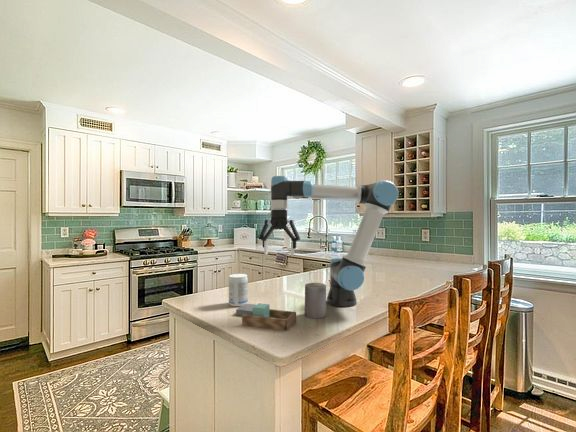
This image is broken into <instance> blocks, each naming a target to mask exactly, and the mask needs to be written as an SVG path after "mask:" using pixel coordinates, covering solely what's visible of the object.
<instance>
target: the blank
mask: <svg viewBox="0 0 576 432" xmlns="http://www.w3.org/2000/svg"><path fill="white" fill-rule="evenodd" d="M269 309H270V304H269V303H257V304H255V306H254V307H253V316H262V317H269Z"/></svg>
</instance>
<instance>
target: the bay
mask: <svg viewBox="0 0 576 432" xmlns="http://www.w3.org/2000/svg"><path fill="white" fill-rule="evenodd" d="M296 322H297V311H293V310H292V311H291V310H281V309H271V308H269V317H262V316H253V315H245V314H243V315H242V316H241V326H247V327H255V328H264V329H271V330H279V331H280V330H281V331H285V332H286V331H289V330H290V329H291V328H292V327H293V326H294V325H295V324H296Z"/></svg>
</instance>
